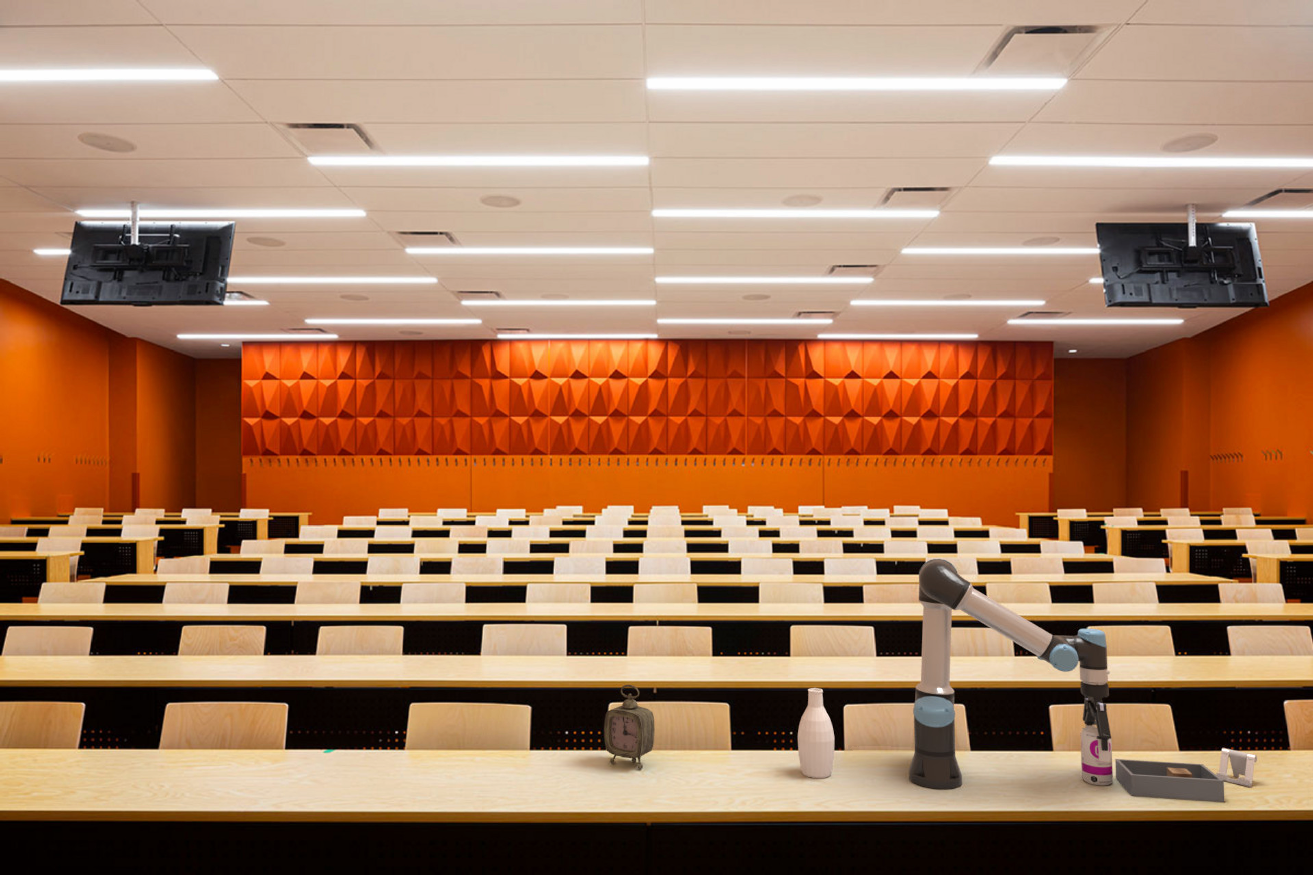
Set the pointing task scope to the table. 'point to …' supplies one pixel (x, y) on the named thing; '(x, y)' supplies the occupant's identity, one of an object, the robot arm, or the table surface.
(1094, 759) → the supplement can
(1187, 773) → the walnut cube
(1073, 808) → the table surface
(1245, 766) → the portable electronic device stand
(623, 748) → the tabletop clock
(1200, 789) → the tote
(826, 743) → the bottle
